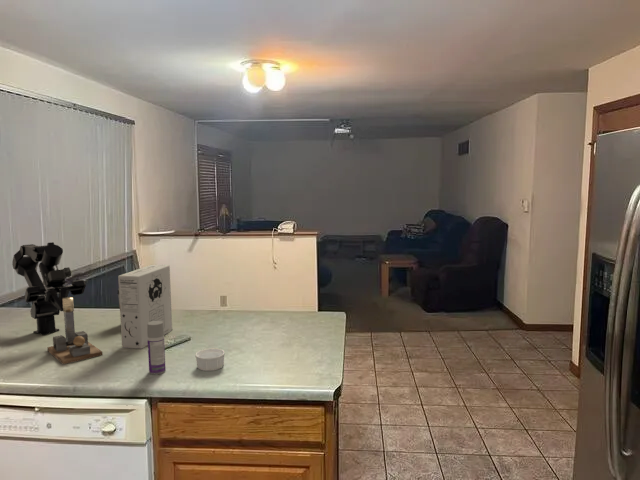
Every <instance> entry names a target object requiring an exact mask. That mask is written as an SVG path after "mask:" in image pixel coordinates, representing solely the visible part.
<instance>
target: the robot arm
mask: <svg viewBox="0 0 640 480" xmlns="http://www.w3.org/2000/svg"><path fill="white" fill-rule="evenodd" d="M63 253H64V250H63V248H62V247H61V246H59V245H58V244H55V242H47V243H46V245H36V244H32V243H31V244H30V243H29V244H22V245H20V247H19V250H18V251H17V252H16V253H15V254H14V255H13V258H12V263H11V265H12V268H13V269H14V272H16V274H17V275H19V276H22V277H24V279H25V282H26V283H27V287H26V288H25V292H24V293H25V294H24V300H25V303H32V305H31V308H30V317H31V318H32V319H34V320H36V330H34V331H33V334H37V335H41V336H44V335H49V334H53V333H55V332H59V331H60V329H59V328H56V320H55V319H56V317H55V316H59V315H60V312H63V301H62V298H66V297H69V294H70V295H73V296H80V295H83V294H85V289H86V286H87V284H86V281H85V280H83V279H78V280H72V281H71V284H68V285H67V284H66V279H67V278H70V277H72V270H71V269H70V267H64V268H62V269H59V267H58V265H60V263H61V259H62V256H63ZM38 269H39V272H40V275H41V276H40V275H39V273H38ZM41 277H42V279H41ZM65 284H66V285H65Z"/></svg>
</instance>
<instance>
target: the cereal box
mask: <svg viewBox="0 0 640 480" xmlns="http://www.w3.org/2000/svg"><path fill="white" fill-rule="evenodd" d="M170 268H171V267H170V265H166V264H150V265H147V266H144V267H143V266H142V267H141V268H137V269H135V270H132V271H130V272H126V273H122V274H120V275H117V276H118V277H117V278H118V281H117V282H118V290H119V297H118V301H119V300H120V307H119V314H120V315H119V316H120V329H121V330H120V333H121V347H122V348H127V349H140V350H141V349H144V348H145V347H148V334H147V323H148V322H151V321H162V322H163V329H164V336H165V335H167V334H169V333H170V332H171V331H173V316H172V312H173V311H172V293H171V290H172V289H171V269H170Z"/></svg>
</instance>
